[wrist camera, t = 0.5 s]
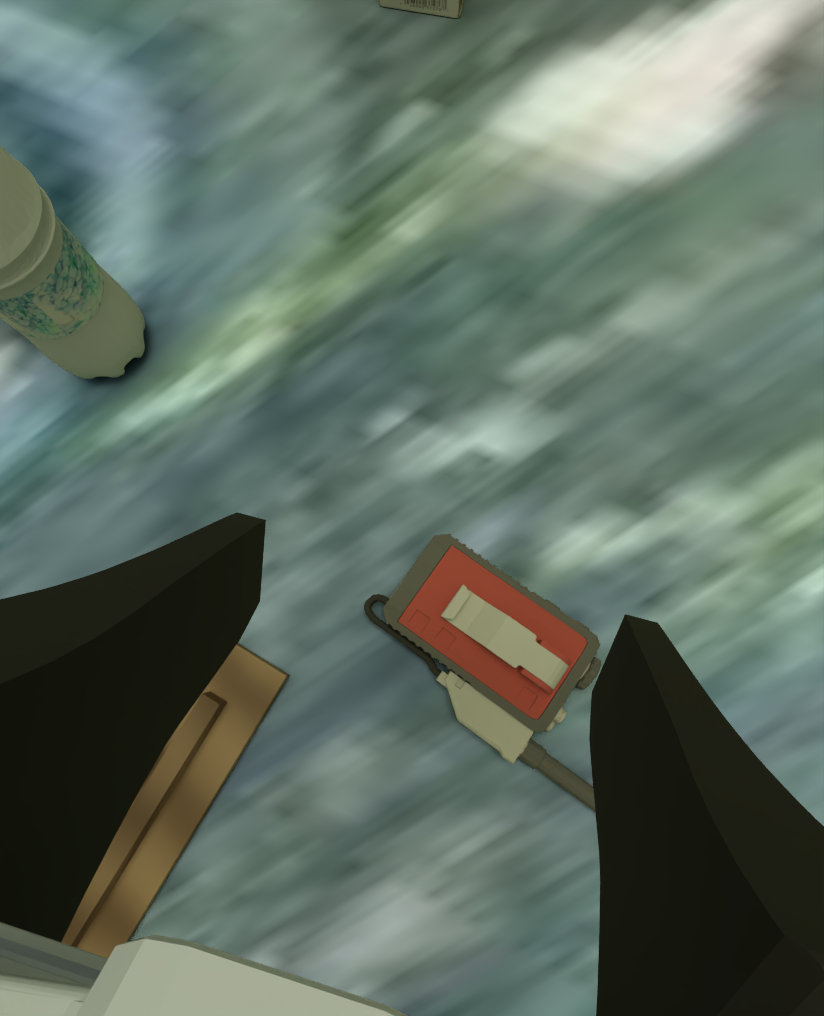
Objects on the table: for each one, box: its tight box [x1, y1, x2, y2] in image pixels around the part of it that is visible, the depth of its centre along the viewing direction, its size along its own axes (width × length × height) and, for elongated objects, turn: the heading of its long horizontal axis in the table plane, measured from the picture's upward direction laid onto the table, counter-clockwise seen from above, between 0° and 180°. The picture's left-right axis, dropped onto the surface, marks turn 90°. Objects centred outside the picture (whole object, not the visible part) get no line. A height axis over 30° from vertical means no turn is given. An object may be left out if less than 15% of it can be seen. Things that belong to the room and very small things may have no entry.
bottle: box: [0, 146, 145, 379], centre depth 34 cm, size 7×7×20 cm
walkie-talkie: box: [364, 534, 601, 812], centre depth 37 cm, size 9×4×20 cm
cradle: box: [61, 643, 289, 958], centre depth 36 cm, size 30×12×2 cm, turn 149°
